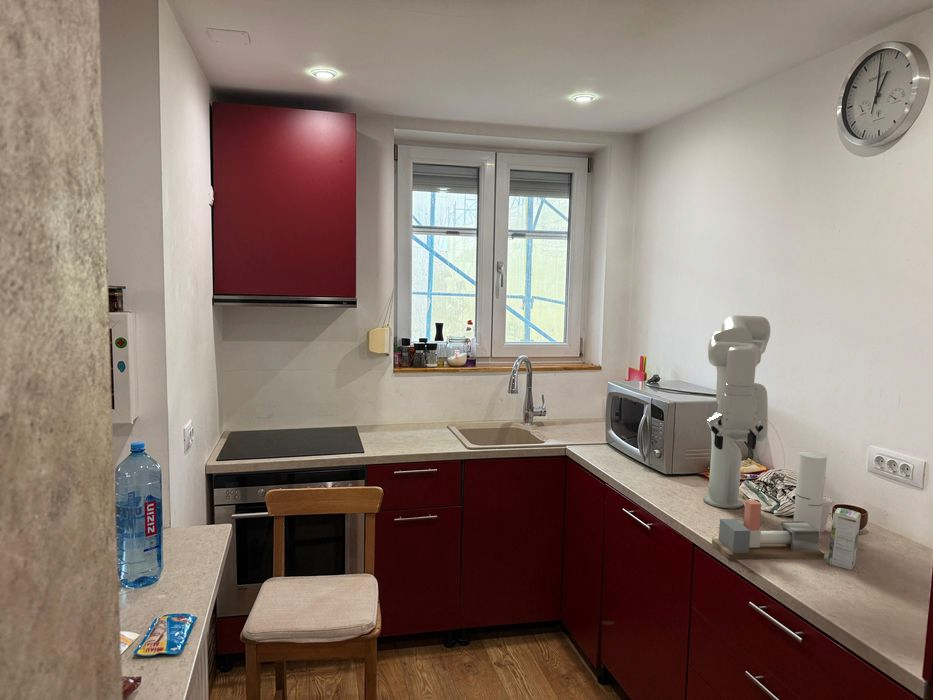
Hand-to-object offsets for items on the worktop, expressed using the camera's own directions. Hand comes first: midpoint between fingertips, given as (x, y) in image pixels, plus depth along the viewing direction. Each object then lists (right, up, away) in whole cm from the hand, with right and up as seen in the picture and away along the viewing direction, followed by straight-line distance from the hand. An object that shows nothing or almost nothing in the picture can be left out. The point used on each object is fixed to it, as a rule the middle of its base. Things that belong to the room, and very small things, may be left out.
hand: (734, 447), depth 181 cm
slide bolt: (+6, -26, -5) cm, 27 cm away
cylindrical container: (+24, -27, +6) cm, 37 cm away
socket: (-3, -27, -6) cm, 27 cm away
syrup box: (+24, -30, -12) cm, 40 cm away
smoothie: (+30, -27, +11) cm, 42 cm away
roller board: (+7, -28, -5) cm, 29 cm away
